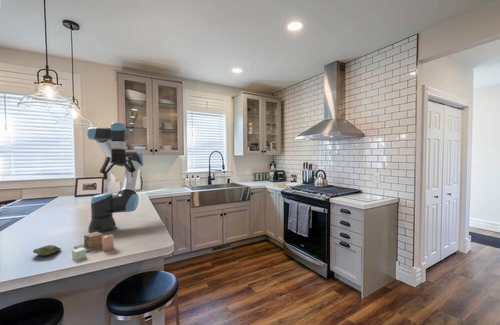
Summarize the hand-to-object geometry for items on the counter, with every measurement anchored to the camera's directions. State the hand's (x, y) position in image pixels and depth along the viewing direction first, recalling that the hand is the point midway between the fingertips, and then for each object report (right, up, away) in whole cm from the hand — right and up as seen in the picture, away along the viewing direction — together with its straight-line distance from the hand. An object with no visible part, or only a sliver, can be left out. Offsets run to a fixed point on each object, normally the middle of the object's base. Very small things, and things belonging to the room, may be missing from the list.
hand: (118, 183), depth 135 cm
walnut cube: (-4, -31, -16) cm, 35 cm away
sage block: (-2, -33, -29) cm, 44 cm away
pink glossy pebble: (+6, -32, -19) cm, 38 cm away
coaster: (-5, -32, -16) cm, 36 cm away
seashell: (-23, -34, -23) cm, 47 cm away
